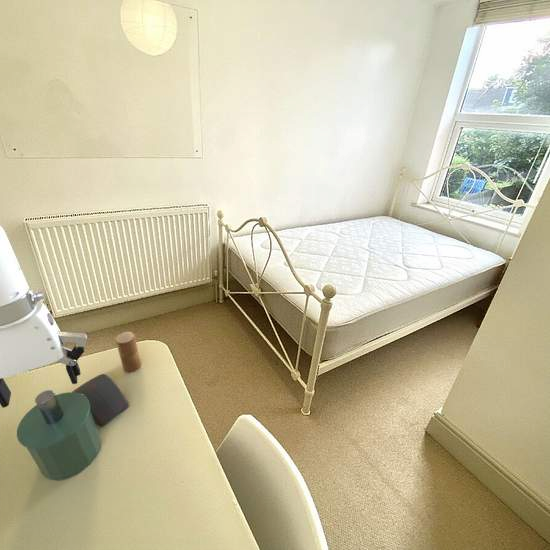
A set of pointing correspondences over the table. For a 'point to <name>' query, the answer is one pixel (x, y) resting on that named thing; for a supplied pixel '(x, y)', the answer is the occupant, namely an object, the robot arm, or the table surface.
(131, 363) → the brown cylinder
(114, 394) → the dark grey flat block
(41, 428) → the tin lid
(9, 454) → the table surface
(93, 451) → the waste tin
